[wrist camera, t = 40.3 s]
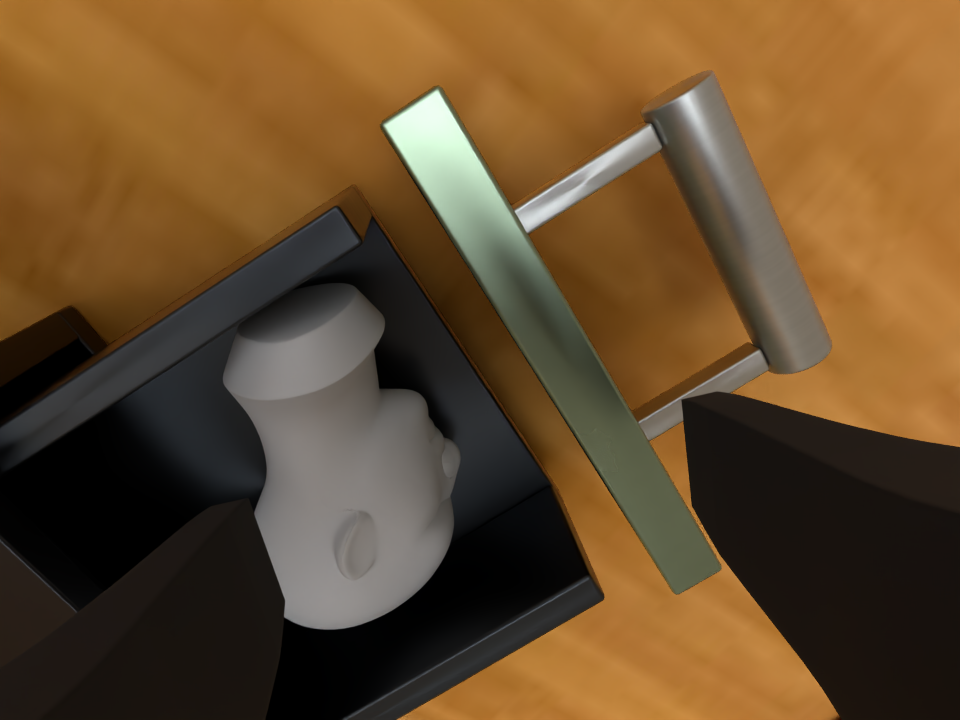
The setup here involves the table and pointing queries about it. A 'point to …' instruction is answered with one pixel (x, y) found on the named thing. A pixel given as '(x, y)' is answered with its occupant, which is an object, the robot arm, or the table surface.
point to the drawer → (446, 389)
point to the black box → (4, 528)
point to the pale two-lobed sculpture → (340, 459)
